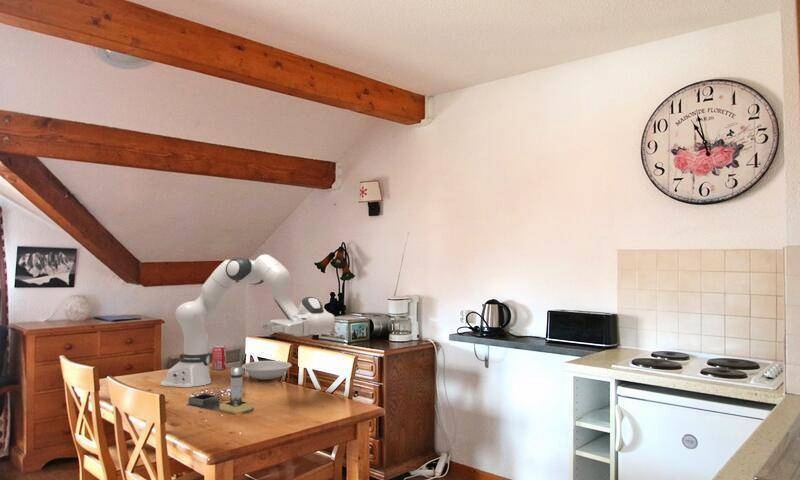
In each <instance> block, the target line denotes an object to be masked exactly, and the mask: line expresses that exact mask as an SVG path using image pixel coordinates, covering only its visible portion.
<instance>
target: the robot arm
mask: <svg viewBox="0 0 800 480" xmlns="http://www.w3.org/2000/svg"><path fill="white" fill-rule="evenodd" d="M237 282H239V283H242V284H246V285H247V284H249V285H255V286H257V285H261V284H263V283H265V285H266V286H267V287H268V289H269V290H270V292H271V294H272V296H273V299H274V301H275V303H276V304H277V306H278V307H279V309H280V310H281V312H283V314H284V316H285V317H286V318H287V319H283V318H282V319H271V320H269V322H268V323H262V324H261V327H262V329H270V331H271V332H281V333H285V334H287V335H288V334H289V335H293V336H294V337H306V336H310V335H313V336H317V335H319V336H320V335H326V334H330V333H332V332H333V330H334V328H335V325H336V317H335V315H334V314H333V313H330V311H327V310H326V309H325V307H324V306H323V305H322V302H321V301H320V299H319V298H317V297H314V296H307V297H304V298H302V299H301V302H300V304H299V306H298V307H297V306H296V305H295V304H294V302H293V299H292V297H291V287H292V277H291V273H290V272H289V270H288V269H287V268H286V266H284V265H283V264H282V263H281V262H280V261H278V260H277V259H276V258H274V256H271V255H269V254H266V253H265V254H260V255H259V256H258V257H257V258H255V260H253V259H249V258H244V257H235V258H234V257H233V258H232V259H225V260H224V261H222V262H221V263H220V264H219V265H218V266H217V267H216V268H215V269H214V270H213V272H212V273H211V275H210V276H209V277H208V278H207V279H206V281H204V283H203V284H202V286H201V292H200V294H199V296H198V297H197V298H196V299H195V300H191V301H186V302H184V303H182V304H180V305H179V306H178V307H177V308H176V309H175V314H174V315H175V319H176V321H177V322H178V324H179V325H180V327H181V330H182V335H183V353H181V354H180V355H179V356H178V359H179V361H178V362H177V363H176V364H174V365H173V366H172V367H171V368H169V369H168V370H167V373H166V375H165V376H166V377H165V379H164V380H162V381H161V382H160V386H165V387H175V388H177V387H178V388H193V387H198V386H199V387H202V386H206V385H209V384H211V383H212V379H211V375H210V368H209V367H210V358H211V357H210V352H209V346H210V345H209V342H210V341H209V340H210V339H209V334H208V333H207V331H206V329H205V325H204V323H207V322H210V321H211V320H213V319H214V318H215V317H216V316H217V314H218V308H219V306H220V304H221V302H222V300H223V299H224V297H226V295H227V294H228V292H229V291H230V289H231V288H232V287H233V286H234V285H235V283H237Z"/></svg>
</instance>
